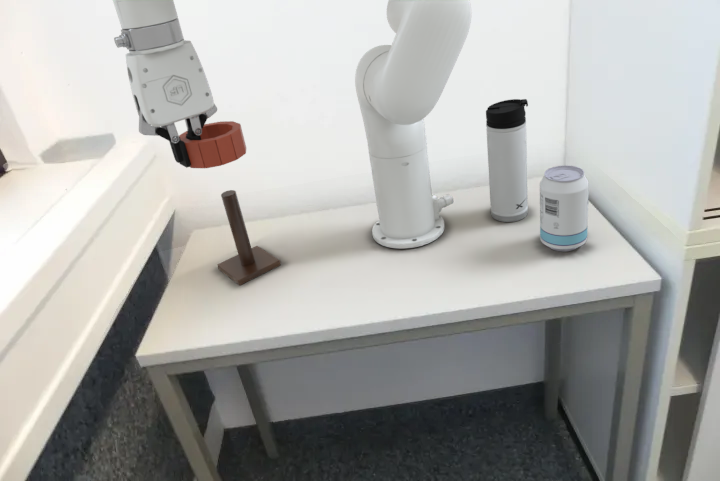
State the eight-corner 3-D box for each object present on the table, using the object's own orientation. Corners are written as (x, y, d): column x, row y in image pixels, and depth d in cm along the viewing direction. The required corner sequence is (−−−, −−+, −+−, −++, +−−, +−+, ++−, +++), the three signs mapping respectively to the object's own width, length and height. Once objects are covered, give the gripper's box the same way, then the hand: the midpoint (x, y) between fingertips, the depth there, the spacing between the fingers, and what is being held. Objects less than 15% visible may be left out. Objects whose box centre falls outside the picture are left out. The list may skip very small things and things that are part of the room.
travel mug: (530, 221, 101) (528, 106, 92) (490, 223, 103) (484, 110, 93) (529, 205, 106) (527, 94, 97) (491, 206, 108) (485, 98, 98)
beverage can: (596, 248, 91) (598, 175, 85) (553, 259, 90) (554, 186, 84) (572, 229, 97) (573, 160, 91) (532, 239, 96) (531, 170, 90)
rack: (258, 250, 107) (238, 178, 101) (281, 265, 101) (261, 190, 95) (218, 269, 103) (195, 196, 97) (239, 285, 98) (216, 209, 91)
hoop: (229, 141, 98) (223, 117, 96) (257, 152, 91) (250, 127, 89) (176, 160, 94) (168, 135, 92) (200, 173, 87) (193, 147, 85)
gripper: (106, 53, 75) (151, 186, 84) (217, 25, 83) (248, 150, 92) (89, 49, 81) (134, 175, 90) (195, 23, 88) (227, 141, 97)
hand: (191, 161), depth 90 cm, fingers closed on hoop, 1 cm apart
